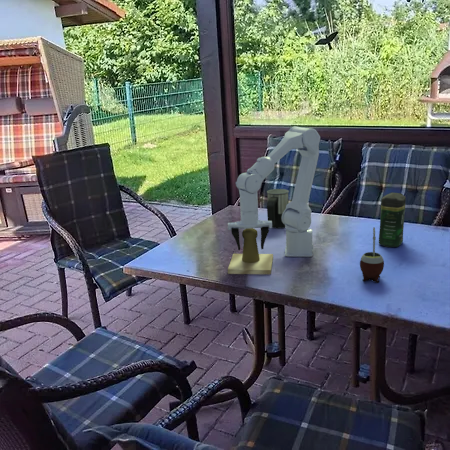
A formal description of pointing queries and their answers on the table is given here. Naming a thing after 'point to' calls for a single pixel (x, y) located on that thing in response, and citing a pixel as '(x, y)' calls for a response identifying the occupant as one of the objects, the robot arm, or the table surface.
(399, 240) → the coffee jar
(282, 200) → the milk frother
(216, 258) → the table surface
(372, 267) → the mate gourd
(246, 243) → the cork
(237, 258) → the birch base board
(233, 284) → the table surface
